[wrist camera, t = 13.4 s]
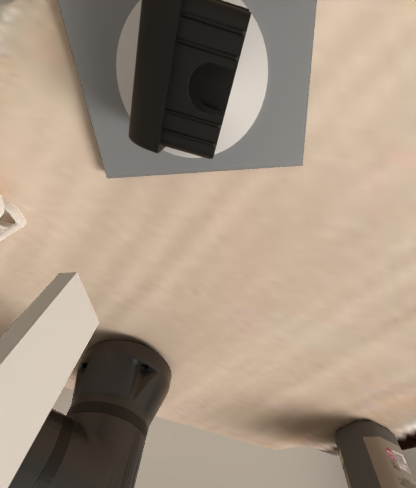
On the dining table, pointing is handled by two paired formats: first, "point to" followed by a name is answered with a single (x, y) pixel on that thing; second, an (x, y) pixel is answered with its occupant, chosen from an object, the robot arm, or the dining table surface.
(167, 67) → the end cap
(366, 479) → the liquor
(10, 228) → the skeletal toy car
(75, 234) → the dining table surface
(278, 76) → the plate
